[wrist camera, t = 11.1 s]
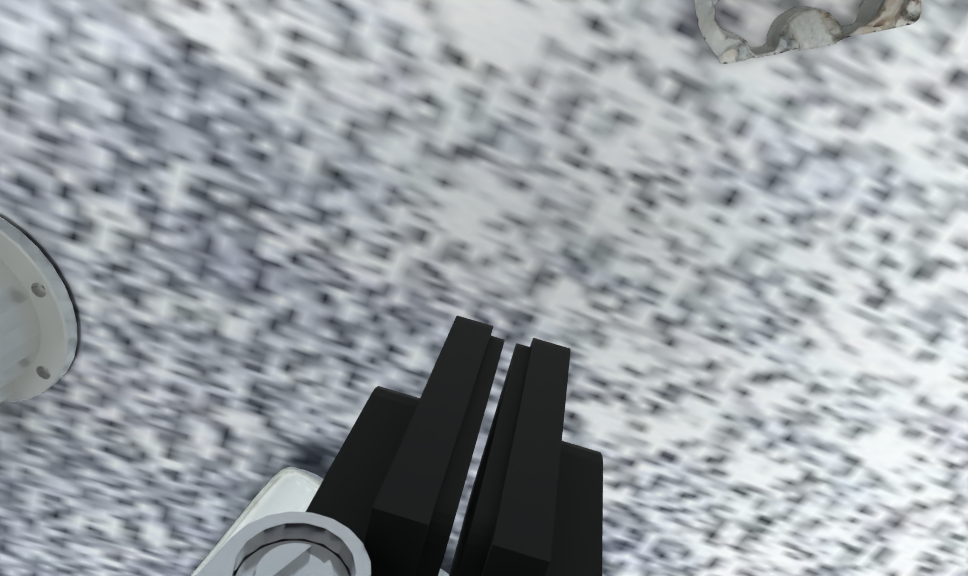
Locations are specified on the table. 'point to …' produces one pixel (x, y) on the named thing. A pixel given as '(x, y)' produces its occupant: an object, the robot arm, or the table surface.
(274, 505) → the square plate
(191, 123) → the table surface
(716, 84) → the table surface
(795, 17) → the egg carton
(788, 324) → the table surface
